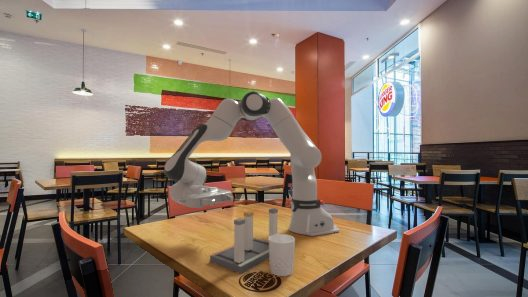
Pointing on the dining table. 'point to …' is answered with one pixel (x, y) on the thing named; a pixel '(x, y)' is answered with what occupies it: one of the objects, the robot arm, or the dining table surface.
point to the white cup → (281, 254)
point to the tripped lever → (248, 230)
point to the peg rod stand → (236, 255)
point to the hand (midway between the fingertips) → (223, 200)
